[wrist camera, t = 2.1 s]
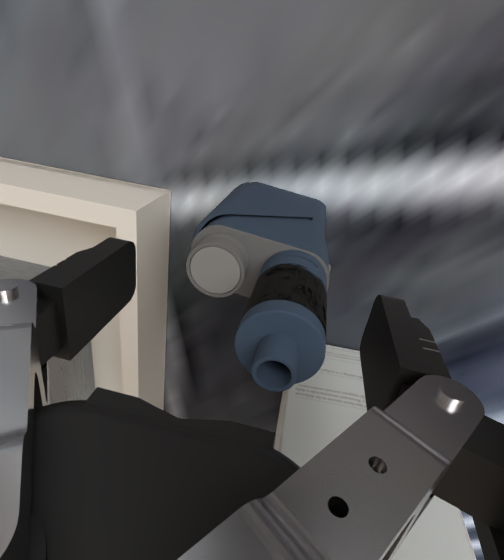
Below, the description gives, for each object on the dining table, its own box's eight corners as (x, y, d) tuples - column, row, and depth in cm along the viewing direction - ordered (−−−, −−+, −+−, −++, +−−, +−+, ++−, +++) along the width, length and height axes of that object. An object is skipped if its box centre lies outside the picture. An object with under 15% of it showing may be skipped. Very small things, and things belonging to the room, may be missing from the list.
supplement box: (276, 418, 26) (236, 661, 15) (293, 334, 22) (258, 570, 11) (382, 442, 25) (424, 720, 14) (417, 359, 21) (511, 642, 10)
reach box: (-148, 127, 22) (-241, 134, 18) (170, 190, 20) (136, 211, 16) (-65, 359, 30) (-117, 393, 27) (163, 419, 28) (139, 465, 25)
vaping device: (320, 248, 19) (308, 428, 9) (227, 219, 20) (109, 362, 9) (337, 202, 18) (346, 349, 8) (237, 172, 18) (115, 275, 8)
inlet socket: (-60, 242, 23) (-110, 260, 21) (85, 274, 22) (52, 298, 20) (-25, 361, 28) (-62, 388, 25) (95, 392, 27) (70, 424, 24)
